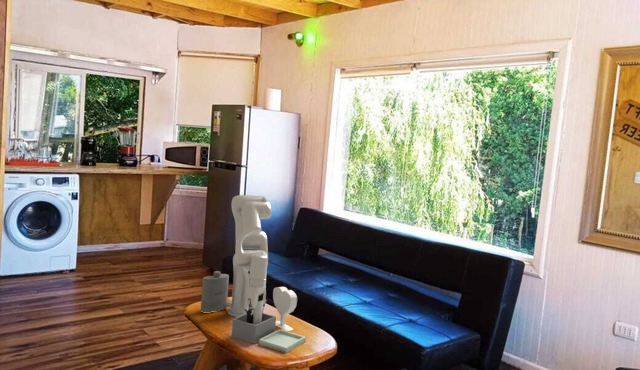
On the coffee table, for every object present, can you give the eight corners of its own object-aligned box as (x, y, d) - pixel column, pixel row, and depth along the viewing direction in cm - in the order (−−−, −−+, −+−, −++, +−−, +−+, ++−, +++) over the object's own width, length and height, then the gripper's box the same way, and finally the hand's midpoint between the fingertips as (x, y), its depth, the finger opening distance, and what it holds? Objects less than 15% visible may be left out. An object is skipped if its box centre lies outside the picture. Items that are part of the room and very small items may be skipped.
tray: (258, 344, 217) (259, 339, 217) (279, 333, 231) (279, 329, 231) (286, 353, 210) (286, 348, 210) (305, 341, 224) (305, 336, 224)
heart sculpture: (295, 330, 237) (299, 293, 236) (287, 332, 234) (290, 294, 233) (278, 319, 249) (280, 284, 248) (269, 321, 246) (272, 285, 245)
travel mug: (262, 333, 229) (266, 291, 227) (256, 338, 223) (260, 294, 221) (250, 331, 231) (254, 288, 229) (243, 335, 225) (247, 292, 223)
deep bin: (231, 336, 223) (232, 319, 222) (252, 327, 236) (253, 310, 236) (254, 343, 217) (255, 325, 216) (274, 333, 231) (276, 316, 230)
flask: (205, 314, 247) (208, 275, 246) (198, 311, 251) (201, 272, 250) (229, 309, 259) (232, 271, 257) (222, 306, 263) (225, 268, 261)
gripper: (261, 276, 234) (258, 314, 236) (238, 284, 219) (235, 324, 220) (275, 279, 231) (272, 317, 232) (252, 287, 215) (249, 328, 217)
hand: (254, 320), depth 226 cm, fingers closed on travel mug, 6 cm apart
